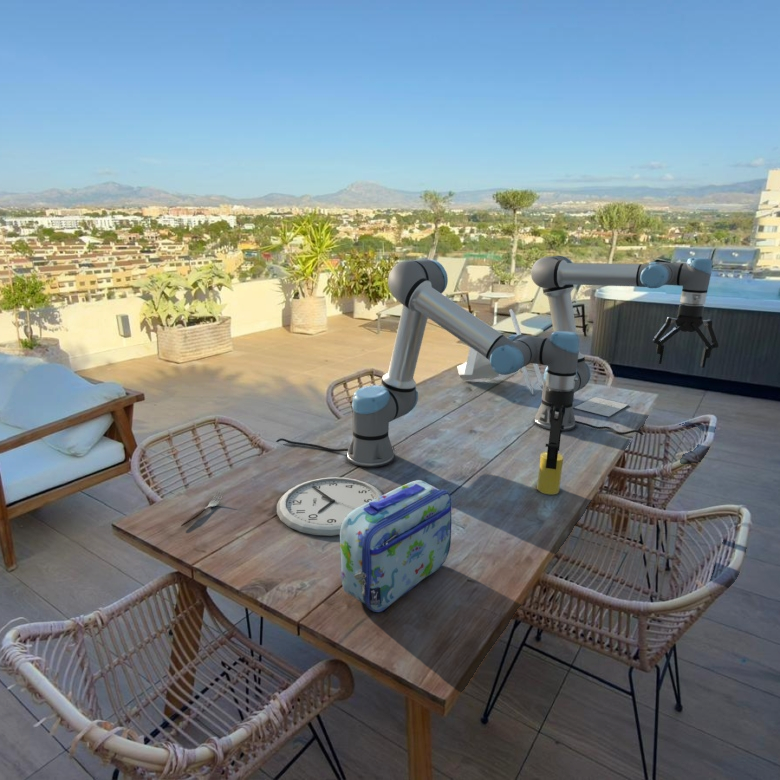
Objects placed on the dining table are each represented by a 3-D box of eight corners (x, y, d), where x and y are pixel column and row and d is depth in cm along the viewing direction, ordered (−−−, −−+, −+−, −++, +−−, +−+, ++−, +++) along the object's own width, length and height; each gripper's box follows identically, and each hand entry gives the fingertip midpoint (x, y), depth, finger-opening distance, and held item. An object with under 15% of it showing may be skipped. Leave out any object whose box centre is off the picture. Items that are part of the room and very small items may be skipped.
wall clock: (392, 527, 129) (268, 531, 127) (391, 533, 130) (269, 537, 127) (383, 473, 158) (282, 475, 155) (383, 478, 158) (282, 480, 156)
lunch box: (369, 626, 100) (370, 530, 93) (334, 598, 107) (332, 507, 101) (455, 567, 117) (460, 483, 111) (419, 547, 124) (423, 467, 118)
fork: (176, 526, 131) (176, 519, 130) (217, 497, 145) (217, 491, 145) (185, 528, 130) (184, 521, 130) (225, 499, 145) (224, 492, 144)
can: (533, 490, 153) (537, 456, 150) (541, 482, 158) (545, 449, 155) (554, 496, 149) (559, 462, 146) (562, 488, 154) (566, 455, 151)
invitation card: (608, 416, 214) (573, 407, 224) (608, 416, 214) (573, 408, 224) (628, 404, 229) (594, 396, 238) (628, 405, 229) (594, 397, 238)
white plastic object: (478, 423, 260) (457, 400, 235) (460, 349, 282) (438, 321, 257) (551, 399, 247) (536, 372, 223) (525, 323, 270) (510, 291, 245)
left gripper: (572, 402, 132) (564, 479, 138) (575, 378, 154) (568, 444, 160) (541, 399, 134) (534, 474, 141) (549, 375, 157) (543, 441, 163)
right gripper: (653, 303, 179) (643, 363, 185) (737, 308, 171) (723, 370, 178) (650, 300, 185) (640, 359, 192) (730, 305, 178) (718, 365, 184)
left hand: (552, 458), depth 150 cm, fingers open, 13 cm apart
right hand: (680, 364), depth 185 cm, fingers open, 13 cm apart
